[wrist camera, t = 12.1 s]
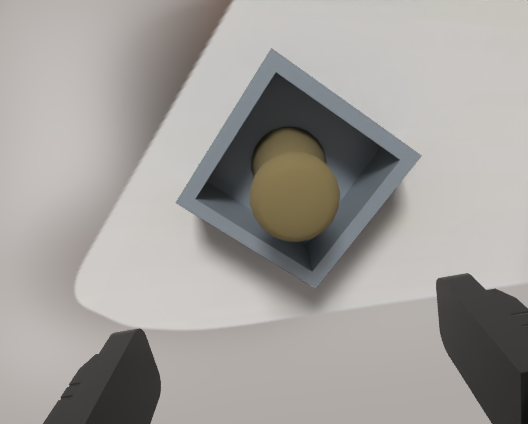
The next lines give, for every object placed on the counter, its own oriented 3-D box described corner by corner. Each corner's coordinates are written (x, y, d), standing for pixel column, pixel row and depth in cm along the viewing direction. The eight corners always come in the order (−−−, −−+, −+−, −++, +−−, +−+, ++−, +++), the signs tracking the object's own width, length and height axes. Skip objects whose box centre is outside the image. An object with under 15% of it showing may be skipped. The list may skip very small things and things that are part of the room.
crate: (271, 53, 30) (271, 47, 25) (395, 142, 32) (421, 155, 26) (192, 181, 34) (175, 202, 28) (308, 255, 35) (315, 288, 30)
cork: (342, 166, 32) (375, 208, 21) (286, 215, 33) (292, 277, 23) (290, 109, 31) (300, 125, 20) (235, 163, 32) (216, 204, 22)
